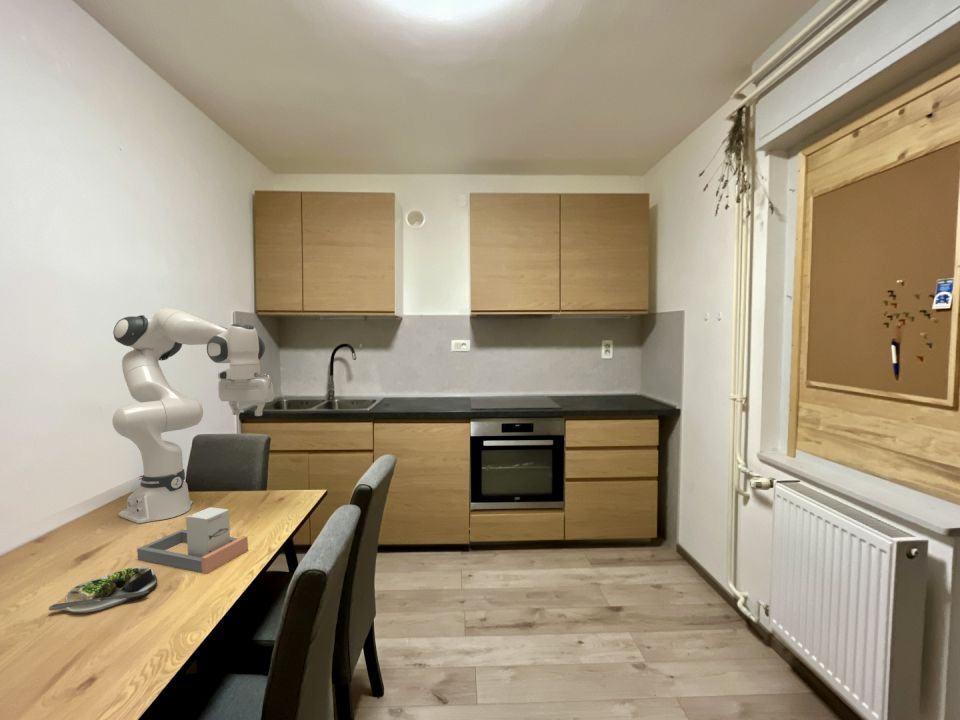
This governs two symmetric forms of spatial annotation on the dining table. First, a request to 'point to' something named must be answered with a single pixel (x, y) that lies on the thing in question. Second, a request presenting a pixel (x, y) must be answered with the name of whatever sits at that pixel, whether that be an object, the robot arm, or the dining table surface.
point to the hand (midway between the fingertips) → (247, 415)
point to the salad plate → (109, 590)
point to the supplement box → (207, 531)
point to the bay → (199, 564)
